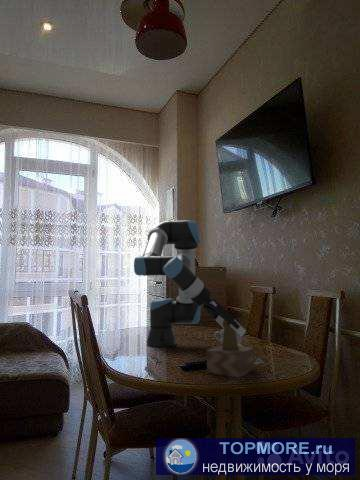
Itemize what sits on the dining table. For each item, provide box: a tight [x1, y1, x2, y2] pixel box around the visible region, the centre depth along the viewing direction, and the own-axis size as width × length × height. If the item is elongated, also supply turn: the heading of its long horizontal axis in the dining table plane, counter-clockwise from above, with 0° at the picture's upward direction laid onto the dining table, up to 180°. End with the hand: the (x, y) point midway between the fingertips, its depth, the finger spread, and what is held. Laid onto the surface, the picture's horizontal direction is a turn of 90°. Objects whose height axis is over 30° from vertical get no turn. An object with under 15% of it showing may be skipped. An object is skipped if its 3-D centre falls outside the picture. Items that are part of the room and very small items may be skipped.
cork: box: [221, 318, 238, 350], centre depth 137 cm, size 6×6×11 cm
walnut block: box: [206, 344, 255, 378], centre depth 136 cm, size 13×13×8 cm
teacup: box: [213, 328, 243, 345], centre depth 182 cm, size 14×11×8 cm
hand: (235, 331), depth 138 cm, fingers open, 13 cm apart
